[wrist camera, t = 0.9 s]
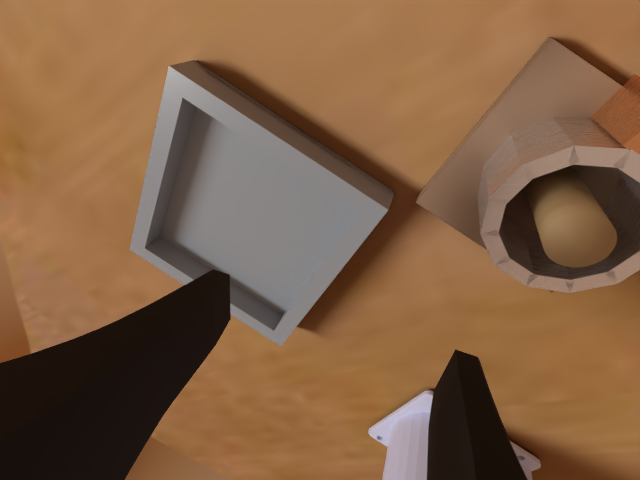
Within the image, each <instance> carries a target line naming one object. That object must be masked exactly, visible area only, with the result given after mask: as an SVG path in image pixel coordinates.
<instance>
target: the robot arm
mask: <svg viewBox="0 0 640 480" xmlns="http://www.w3.org/2000/svg"><path fill="white" fill-rule="evenodd" d="M230 319H231V318H230V275H229V274H226V273H223V272H220V271H217V270H214V269H213V270H211V271H209V272H207V273H205V274H203V275H202V276H200V277H198V278H196V279H195V280H193V281H191V282H189V283H188V284H186V285H184V286H182V287H181V288H179V289H177V290H175V291H173V292H172V293H170V294H168V295H166V296H164V297H163V298H161V299H159V300H157V301H155V302H153V303H151V304H150V305H148V306H146V307H144V308H142V309H140V310H138V311H136V312H134V313H132V314H130V315H128V316H126V317H124V318H122V319H120V320H118V321H115V322H113V323H111V324H109V325H106V326H104V327H102V328H100V329H97V330H95V331H92V332H90V333H87V334H85V335H83V336H80V337H77V338H75V339H72V340H70V341H67V342H64V343H61V344H58V345H55V346H52V347H50V348H47V349H44V350H41V351H38V352H35V353H32V354H29V355H26V356H23V357H20V358H17V359H13V360H10V361H6V362H3V363H0V480H125V478H126V476H127V474H128V473H129V471H130V469H131V468H132V466H133V464H134V462H135V461H136V459H137V457H138V456H139V454H140V452H141V451H142V449H143V447H144V446H145V444H146V442H147V441H148V439H149V438H150V436H151V434H152V433H153V431H154V429H155V428H156V426H157V425H158V423H159V421H160V420H161V418H162V417H163V415H164V414H165V412H166V411H167V409H168V408H169V406H170V405H171V404H172V402H173V401H174V400H175V398H176V397H177V396H178V394H179V393H180V392H181V390H182V389H183V388H184V386H185V385H186V384H187V382H188V381H189V380H190V378H191V377H192V376H193V374H194V373H195V372H196V370H197V369H198V368H199V367H200V365H201V364H202V363H203V361H204V360H205V358H206V357H207V356H208V354H209V353H210V352H211V350H212V349H213V348H214V346H215V345H216V343H217V341H218V340H219V338H220V336H221V335H222V333H223V331H224V329H225V328H226V326H227V324H228V322H229V320H230ZM369 435H370V436H371V437H373V438H374V439H376V440H377V441H379V442H380V443H382V444H384V445H385V446H387V447H388V449H387V455H386V461H385V467H384V473H383V479H382V480H533V479H532V472H531V471H534V470H537V469H539V468H540V467H541V464H540V460H539V459H538V458H536V457H535V456H533V455H532V454H530V453H528V452H527V451H525V450H524V449H522V448H521V447H519V446H518V445H516V444H514V443H513V442H511V441H510V440H509V438H508V435H507V433H506V430H505V428H504V426H503V423H502V421H501V418H500V416H499V413H498V411H497V408H496V406H495V403H494V400H493V398H492V395H491V392H490V390H489V387H488V384H487V381H486V378H485V375H484V372H483V370H482V367H481V363H480V361H479V359H478V357H476V356H473V355H470V354H467V353H464V352H461V351H458V350H455V352H454V354H453V356H452V357H451V359H450V361H449V363H448V365H447V367H446V369H445V371H444V373H443V374H442V376H441V378H440V380H439V382H438V384H437V386H436V388H435V390H434V392H433V391H430V390H427V391H424V392H423V393H421V394H420V395H418V396H417V397H415V398H414V399H412V400H411V401H409V402H408V403H406V404H405V405H403V406H402V407H400V408H399V409H397V410H396V411H394V412H393V413H391V414H390V415H388V416H387V417H385V418H384V419H382V420H381V421H379V422H378V423H376V424H375V425H373V426H372V427H370V429H369Z"/></svg>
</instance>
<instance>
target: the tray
mask: <svg viewBox="0 0 640 480" xmlns="http://www.w3.org/2000/svg"><path fill="white" fill-rule="evenodd" d="M394 193H395V192H394V191H392V190H391V189H389V188H388V187H386V186H385V185H383V184H382V183H380V182H379V181H377V180H376V179H374V178H373V177H371V176H370V175H368V174H367V173H365V172H364V171H362V170H361V169H359V168H357V167H356V166H354V165H353V164H351V163H350V162H348V161H347V160H345V159H344V158H342V157H341V156H339V155H338V154H336V153H335V152H333V151H332V150H330V149H329V148H327V147H326V146H324V145H323V144H321V143H320V142H318V141H316V140H315V139H313V138H312V137H310V136H309V135H307V134H306V133H304V132H303V131H301V130H300V129H298V128H297V127H295V126H294V125H292V124H291V123H289V122H288V121H286V120H285V119H283V118H282V117H280V116H279V115H277V114H275V113H274V112H272V111H271V110H269V109H268V108H266V107H265V106H263V105H262V104H260V103H259V102H257V101H256V100H254V99H253V98H251V97H250V96H248V95H247V94H245V93H244V92H242V91H241V90H239V89H237V88H236V87H234V86H233V85H231V84H230V83H228V82H227V81H225V80H224V79H222V78H221V77H219V76H218V75H216V74H215V73H213V72H212V71H210V70H209V69H207V68H206V67H204V66H203V65H201V64H200V63H198V62H196V61H195V60H193V61H188V62H184V63H179V64H175V65H170V66H169V68H168V73H167V77H166V82H165V87H164V91H163V96H162V101H161V105H160V110H159V115H158V119H157V124H156V128H155V133H154V138H153V142H152V147H151V152H150V156H149V161H148V166H147V170H146V175H145V180H144V184H143V189H142V194H141V198H140V203H139V208H138V212H137V217H136V222H135V226H134V231H133V236H132V240H131V245H130V250H131V251H132V252H134V253H135V254H137V255H138V256H140V257H141V258H143V259H145V260H146V261H148V262H149V263H151V264H152V265H154V266H156V267H157V268H159V269H160V270H162V271H163V272H165V273H167V274H168V275H170V276H171V277H173V278H174V279H176V280H177V281H179V282H181V283H182V284H184V285H186V284H188V283H189V282H191V281H193V280H195V279H196V278H198V277H200V276H202V275H203V274H205V273H207V272H209V271H211V270H213V269H214V270H217V271H220V272H223V273H226V274H229V275H230V314H231V315H232V316H234V317H235V318H237V319H239V320H240V321H242V322H243V323H245V324H246V325H248V326H249V327H251V328H253V329H254V330H256V331H257V332H259V333H260V334H262V335H264V336H265V337H267V338H268V339H270V340H271V341H273V342H275V343H276V344H278V345H279V346H282V344H283V343H284V342H285V340H286V339H287V338H288V337H289V335H290V334H291V333H292V332H293V330H294V329H295V328H296V327H297V325H298V324H299V323H300V321H301V320H302V319H303V318H304V316H305V315H306V314H307V313H308V311H309V310H310V309H311V308H312V306H313V305H314V304H315V302H316V301H317V300H318V299H319V297H320V296H321V295H322V294H323V292H324V291H325V290H326V289H327V287H328V286H329V285H330V283H331V282H332V281H333V280H334V278H335V277H336V276H337V275H338V273H339V272H340V271H341V270H342V268H343V267H344V266H345V264H346V263H347V262H348V261H349V259H350V258H351V257H352V256H353V254H354V253H355V252H356V251H357V249H358V248H359V247H360V245H361V244H362V243H363V242H364V240H365V239H366V238H367V237H368V235H369V234H370V233H371V232H372V230H373V229H374V228H375V226H376V225H377V224H378V223H379V221H380V220H381V219H382V218H383V216H384V215H385V214H386V213H387V211H388V210H389V207H390V204H391V202H392V199H393V196H394Z"/></svg>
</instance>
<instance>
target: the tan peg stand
mask: <svg viewBox="0 0 640 480" xmlns="http://www.w3.org/2000/svg"><path fill="white" fill-rule="evenodd" d="M621 87H622V86H621V85H620V84H618V83H617V82H615V81H614V80H613V79H611V78H610V77H608V76H607V75H605V74H604V73H602V72H601V71H599V70H598V69H596V68H595V67H593V66H592V65H591V64H589V63H588V62H586V61H585V60H583V59H582V58H580V57H579V56H577V55H576V54H574V53H573V52H571V51H570V50H568V49H567V48H566V47H564V46H563V45H561V44H560V43H558V42H557V41H555V40H554V39H552V38H550V37H548V39H547V40H546V41H545V42H544V43H543V45H542V46H541V47H540V48H539V49H538V51H537V52H536V53H535V54H534V55H533V57H532V58H531V59H530V60H529V61H528V63H527V64H526V65H525V66H524V68H523V69H522V70H521V71H520V72H519V74H518V75H517V76H516V77H515V78H514V80H513V81H512V82H511V83H510V84H509V86H508V87H507V88H506V89H505V90H504V92H503V93H502V94H501V95H500V97H499V98H498V99H497V100H496V101H495V103H494V104H493V105H492V106H491V107H490V109H489V110H488V111H487V112H486V113H485V115H484V116H483V117H482V118H481V119H480V121H479V122H478V123H477V124H476V125H475V127H474V128H473V129H472V130H471V132H470V133H469V134H468V135H467V136H466V138H465V139H464V140H463V141H462V142H461V144H460V145H459V146H458V147H457V148H456V150H455V151H454V152H453V153H452V154H451V156H450V157H449V158H448V159H447V160H446V162H445V163H444V164H443V165H442V167H441V168H440V169H439V170H438V171H437V173H436V174H435V175H434V176H433V177H432V179H431V180H430V181H429V182H428V183H427V185H426V186H425V187H424V188H423V189H422V191H421V192H420V193H419V194H418V195H417V199H416V203H417V204H418V205H420V206H421V207H423V208H424V209H426V210H427V211H429V212H430V213H432V214H434V215H435V216H437V217H438V218H440V219H441V220H443V221H444V222H446V223H447V224H449V225H450V226H452V227H453V228H455V229H456V230H458V231H459V232H461V233H462V234H464V235H465V236H467V237H468V238H470V239H471V240H473V241H474V242H476V243H478V244H479V245H481V246H482V247H484V248H485V249H487V248H486V246H485V244H484V241H483V239H482V237H481V235H480V223H479V209H478V191H479V186H480V182H481V177H482V172H483V168H484V163H485V162H486V161H487V160H488V159H489V158H490V157H491V156H492V155H493V154H494V152H495V151H496V150H497V149H498V148H499V147H500V146H501V145H502V144H503V143H504V142H505V140H506V139H507V138H508V137H509V136H510V135H511V134H513V133H516V132H518V131H521V130H523V129H525V128H528V127H530V126H533V125H535V124H537V123H540V122H542V121H545V120H547V119H549V118H552V117H560V118H582V119H593V118H592V117H591V116H592V115H593V114H594V113H595V112H596V111H597V110H598V109H599V108H600V107H601V106H603V105H604V104H605V103H606V102H607V101H608V100H609V99H610V98H611V97H612V96H613V95H614V94H615V93H616V92H617V91H618V90H619V89H620V88H621ZM618 180H619V175H618V171H617V168H614V167H600V166H587V165H571V166H568V167H565V168H562V169H559V170H556V171H554V172H551V173H548V174H545V175H542V176H539V177H536V178H534V179H532V180H531V181H530V182H529V183H528V184H527V185H526V186H525V187H524V188H523V189H522V190H520V191H519V192H518V193H517V194H516V195H515V196H514V197H513V198H512V199H511V200H510V201H509V202H508V203H507V204H506V207H505V210H504V214H503V216H504V217H505V218H507V219H508V220H510V221H511V222H513V223H514V224H516V225H517V226H519V227H520V228H522V229H524V230H533V231H538V233H539V236H540V239H541V242H542V245H543V248H544V251H545V253H546V255H547V256H548V257H549V258H550V259H551V260H552V261H554V262H555V263H557V264H560V265H563V266H567V267H585V266H589V265H593V264H595V263H598V262H600V261H601V260H603V259H605V258H606V257H607V256H608V255H609V254H610V253H611V252H612V251H613V249H614V248H615V246H616V243H617V233H616V230H615V228H614V227H613V225H612V223H611V222H610V220H609V219H608V217H607V216H606V214H605V213H604V211H603V210H602V209H603V208H604V207H606V206H607V205H608V204H609V201H610V199H611V197H612V194H613V192H614V190H615V187H616V185H617V183H618ZM549 291H550V292H553V290H549Z"/></svg>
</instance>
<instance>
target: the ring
mask: <svg viewBox="0 0 640 480" xmlns="http://www.w3.org/2000/svg"><path fill="white" fill-rule="evenodd" d="M591 117H592V118H593V119H582V118H560V117H552V118H549V119H547V120H545V121H542V122H540V123H537V124H535V125H533V126H530V127H528V128H525V129H523V130H521V131H518V132H516V133H513V134H511V135H510V136H509V137H508V138H507V139H506V140H505V142H504V143H503V144H502V145H501V146H500V147H499V148H498V149H497V150H496V151H495V152H494V154H493V155H492V156H491V157H490V158H489V159H488V160H487V161H486V162H485V163H484V168H483V172H482V177H481V182H480V186H479V191H478V209H479V223H480V235H481V237H482V239H483V241H484V244H485V246H486V248H487V250H488V253H489V255H490V257H491V259H492V262H493V264H494V266H496V267H497V268H499V269H501V270H502V271H504V272H505V273H507V274H508V275H510V276H511V277H513V278H514V279H516V280H517V281H519V282H520V283H522V284H523V285H525V286H528V287H534V288H540V289H547V290H553V291H559V292H565V293H573V292H578V291H583V290H588V289H593V288H598V287H603V286H609V285H614V284H618V283H620V282H621V281H623V280H624V279H626V278H628V277H629V276H631V275H632V274H634V273H635V272H637V271H639V270H640V77H639V76H637V75H634V76H632V77H631V78H630V79H629V80H628V81H627V82H626V83H625V84H624V85H623V86H622V87H621V88H620V89H619V90H618V91H617V92H616V93H615V94H614V95H613V96H612V97H611V98H610V99H609V100H608V101H607V102H606V103H605V104H604V105H603V106H601V107H600V108H599V109H598V110H597V111H596V112H595V113H594V114H593V115H592V116H591ZM571 165H587V166H600V167H614V168H617V171H618V175H619V180H618V183H617V185H616V187H615V190H614V192H613V194H612V197H611V199H610V201H609V204H608V205H607V206H606V207H604V208H603V209H602V210H603V211H604V213H605V214H606V216H607V217H608V219H609V220H610V222H611V223H612V225H613V227H614V228H615V230H616V233H617V243H616V246H615V248H614V249H613V251H612V252H611V253H610V254H609V255H608V256H607V257H606V258H605V259H603V260H601V261H600V262H598V263H595V264H593V265H589V266H585V267H567V266H563V265H560V264H557V263H555V262H554V261H552V260H551V259H550V258H549V257H548V256H547V255H546V253H545V251H544V248H543V245H542V242H541V239H540V236H539V233H538V231H533V230H524V229H522V228H520V227H519V226H517V225H516V224H514V223H513V222H511V221H510V220H508V219H507V218H505V217H504V216H503V214H504V210H505V207H506V204H507V203H508V202H509V201H510V200H511V199H512V198H513V197H514V196H515V195H516V194H517V193H518V192H519V191H520V190H522V189H523V188H524V187H525V186H526V185H527V184H528V183H529V182H530V181H531V180H532V179H534V178H536V177H539V176H542V175H545V174H548V173H551V172H554V171H556V170H559V169H562V168H565V167H568V166H571Z"/></svg>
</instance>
